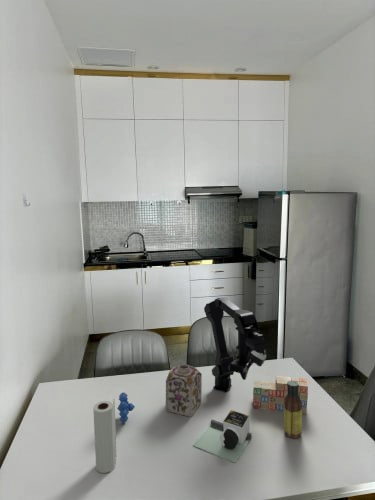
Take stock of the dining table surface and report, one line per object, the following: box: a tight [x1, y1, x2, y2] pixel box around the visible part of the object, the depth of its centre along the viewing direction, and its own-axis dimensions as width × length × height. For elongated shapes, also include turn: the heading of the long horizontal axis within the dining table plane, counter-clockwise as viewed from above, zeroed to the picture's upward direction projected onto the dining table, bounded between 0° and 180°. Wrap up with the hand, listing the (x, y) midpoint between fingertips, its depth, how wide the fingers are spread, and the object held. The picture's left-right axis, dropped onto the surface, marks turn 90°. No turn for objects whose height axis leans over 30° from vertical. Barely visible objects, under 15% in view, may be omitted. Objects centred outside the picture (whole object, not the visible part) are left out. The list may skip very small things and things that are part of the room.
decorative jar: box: [165, 363, 203, 418], centre depth 148 cm, size 12×12×18 cm
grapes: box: [117, 392, 136, 424], centre depth 139 cm, size 12×7×12 cm, turn 10°
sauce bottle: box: [283, 381, 303, 439], centre depth 131 cm, size 6×6×20 cm
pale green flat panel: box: [192, 426, 250, 464], centre depth 127 cm, size 16×12×1 cm
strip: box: [210, 419, 252, 441], centre depth 134 cm, size 16×1×2 cm, turn 59°
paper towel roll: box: [93, 398, 117, 474], centre depth 115 cm, size 7×6×21 cm
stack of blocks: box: [252, 375, 309, 415], centre depth 148 cm, size 21×6×12 cm, turn 78°
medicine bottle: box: [220, 409, 250, 449], centre depth 128 cm, size 7×7×12 cm
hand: (244, 379), depth 148 cm, fingers closed
